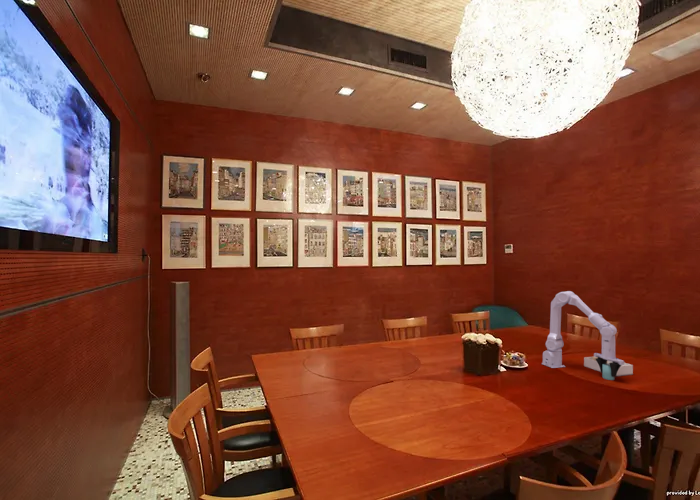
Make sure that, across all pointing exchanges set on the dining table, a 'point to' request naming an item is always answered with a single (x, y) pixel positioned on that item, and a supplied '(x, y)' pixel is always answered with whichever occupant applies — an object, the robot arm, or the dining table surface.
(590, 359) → the tote
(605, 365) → the teal cylinder
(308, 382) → the dining table surface
